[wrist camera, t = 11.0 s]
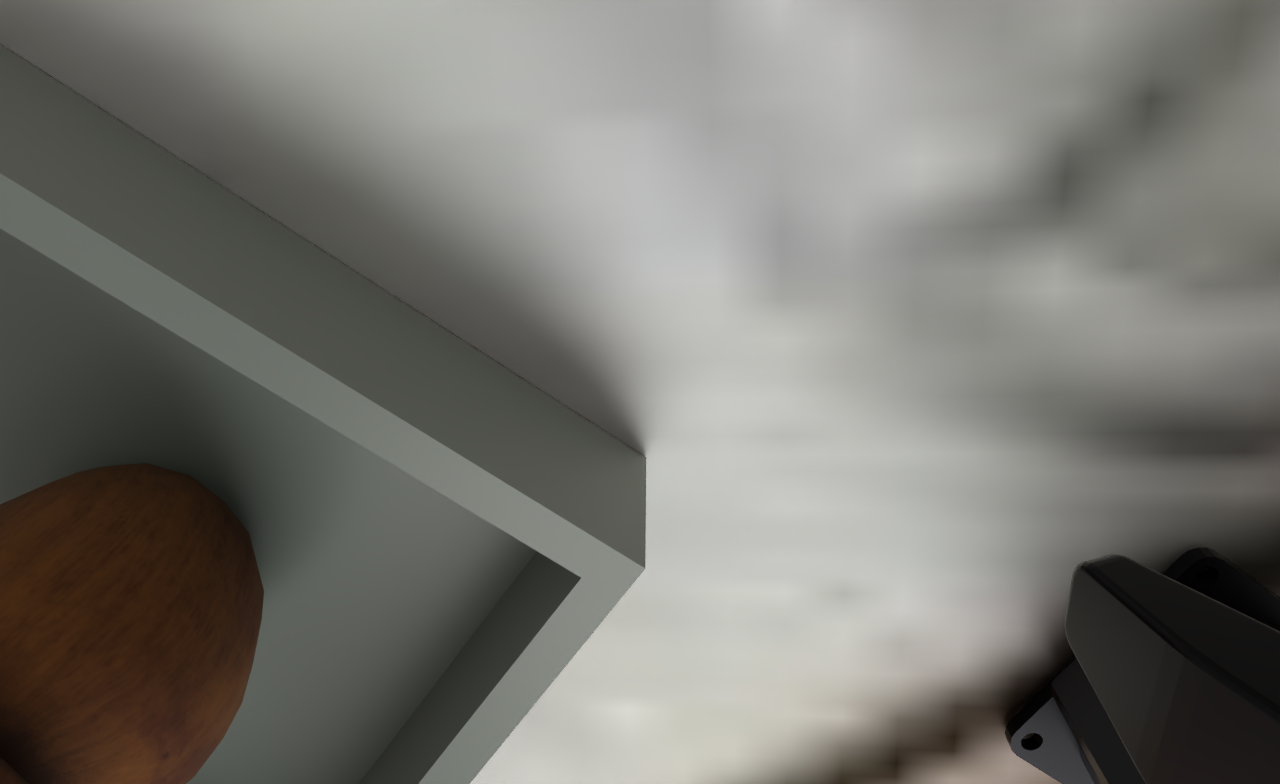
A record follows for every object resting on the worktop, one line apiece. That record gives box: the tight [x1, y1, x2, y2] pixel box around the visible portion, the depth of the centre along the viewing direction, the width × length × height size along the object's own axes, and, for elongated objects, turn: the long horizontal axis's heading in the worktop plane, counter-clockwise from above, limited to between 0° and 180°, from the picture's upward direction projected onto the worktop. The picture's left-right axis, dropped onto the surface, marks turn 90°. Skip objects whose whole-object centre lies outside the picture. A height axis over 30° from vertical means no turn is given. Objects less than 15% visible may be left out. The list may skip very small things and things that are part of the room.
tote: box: [0, 44, 646, 784], centre depth 21 cm, size 16×16×4 cm
